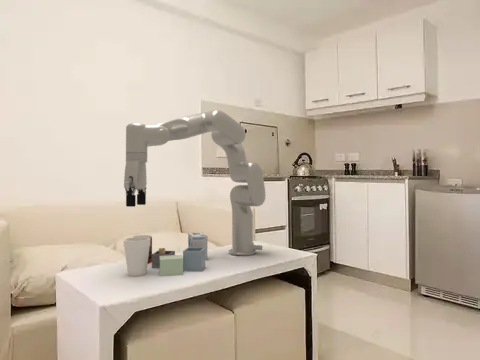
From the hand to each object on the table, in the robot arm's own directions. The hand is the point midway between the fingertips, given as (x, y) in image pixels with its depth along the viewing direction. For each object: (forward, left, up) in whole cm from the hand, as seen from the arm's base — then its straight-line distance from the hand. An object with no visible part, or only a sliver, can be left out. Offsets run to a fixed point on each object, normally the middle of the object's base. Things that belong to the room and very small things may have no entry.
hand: (136, 205), depth 134 cm
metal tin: (-6, -12, -25) cm, 29 cm away
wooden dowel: (-6, -12, -25) cm, 28 cm away
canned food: (+5, -18, -25) cm, 32 cm away
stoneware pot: (-19, -9, -25) cm, 33 cm away
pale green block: (-12, -2, -25) cm, 28 cm away
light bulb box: (-16, -28, -25) cm, 41 cm away
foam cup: (0, 0, -25) cm, 25 cm away
